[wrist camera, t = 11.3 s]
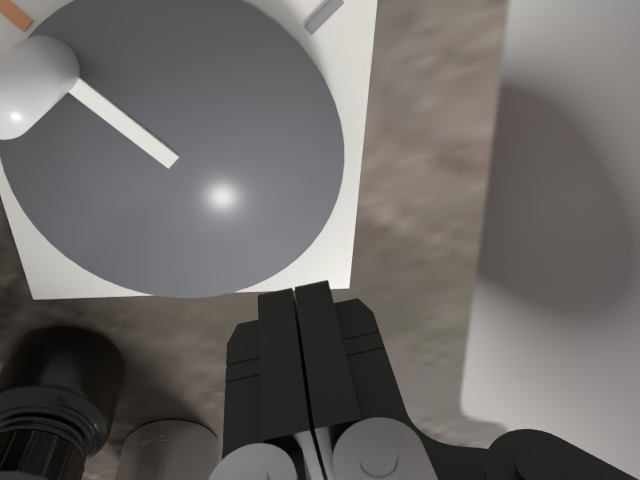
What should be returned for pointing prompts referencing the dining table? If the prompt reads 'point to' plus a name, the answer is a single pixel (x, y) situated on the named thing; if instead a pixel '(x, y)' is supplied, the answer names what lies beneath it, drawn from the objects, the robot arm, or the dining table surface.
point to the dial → (170, 142)
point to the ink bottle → (57, 403)
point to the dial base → (351, 101)
